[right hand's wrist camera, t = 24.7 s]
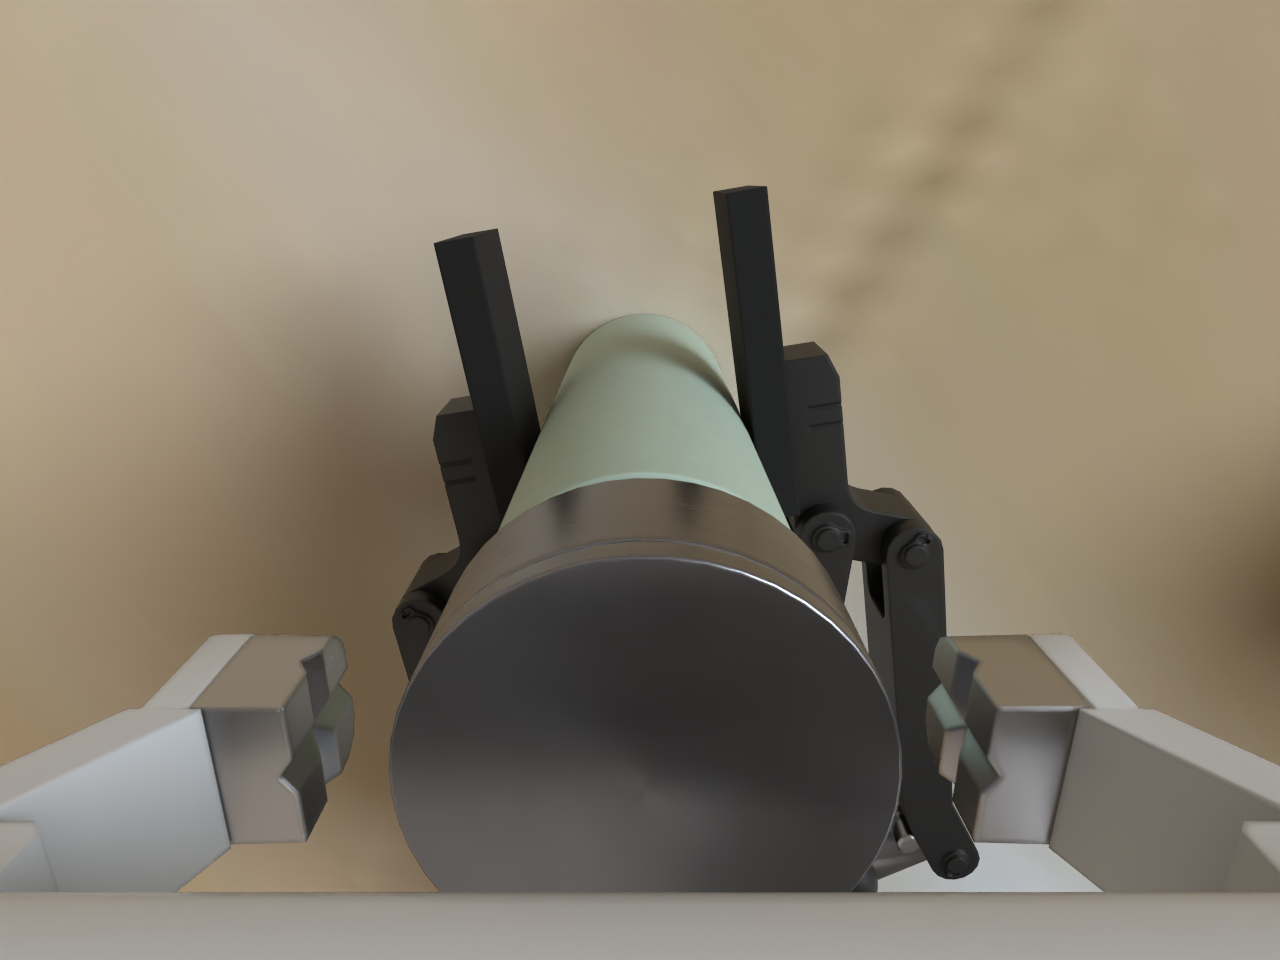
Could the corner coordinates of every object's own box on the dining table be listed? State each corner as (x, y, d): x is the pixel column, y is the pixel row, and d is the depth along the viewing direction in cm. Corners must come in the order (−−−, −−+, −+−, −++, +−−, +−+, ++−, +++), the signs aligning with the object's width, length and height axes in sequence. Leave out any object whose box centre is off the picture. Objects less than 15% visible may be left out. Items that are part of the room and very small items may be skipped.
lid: (373, 545, 10) (300, 642, 8) (793, 420, 9) (839, 485, 7) (524, 869, 11) (498, 1021, 9) (889, 777, 11) (948, 917, 9)
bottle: (546, 442, 25) (392, 838, 10) (590, 292, 23) (493, 478, 8) (692, 486, 25) (768, 931, 10) (745, 342, 24) (927, 608, 8)
